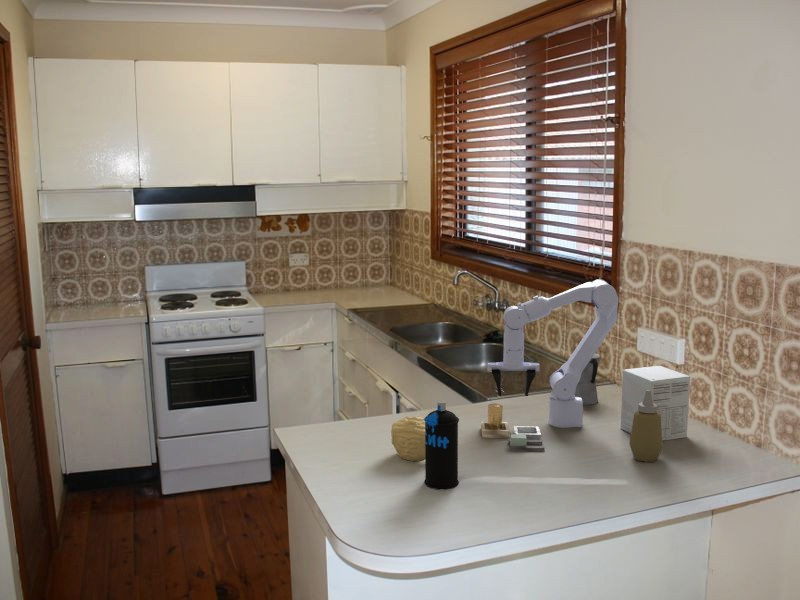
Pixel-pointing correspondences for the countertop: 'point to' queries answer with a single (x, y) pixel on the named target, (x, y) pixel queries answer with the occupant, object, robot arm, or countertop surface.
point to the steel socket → (528, 432)
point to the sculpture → (409, 438)
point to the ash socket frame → (495, 431)
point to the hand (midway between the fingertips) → (512, 394)
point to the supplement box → (657, 398)
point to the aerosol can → (441, 448)
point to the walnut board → (527, 448)
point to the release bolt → (518, 440)
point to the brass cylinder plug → (495, 416)
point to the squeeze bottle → (646, 431)
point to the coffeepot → (588, 382)
